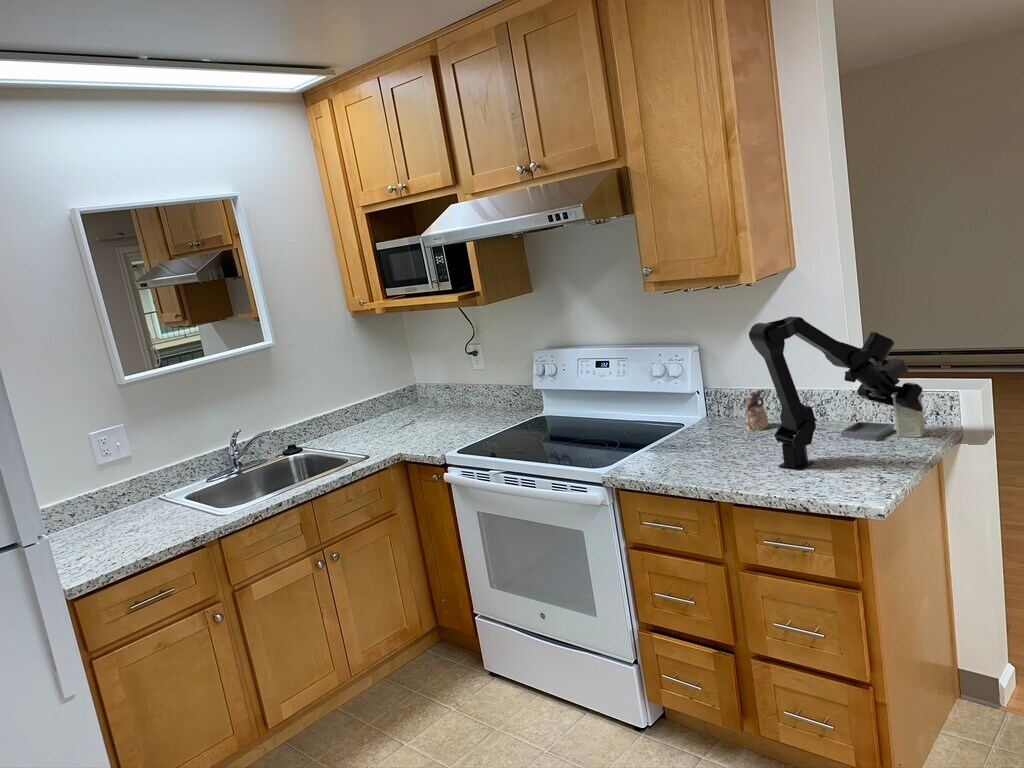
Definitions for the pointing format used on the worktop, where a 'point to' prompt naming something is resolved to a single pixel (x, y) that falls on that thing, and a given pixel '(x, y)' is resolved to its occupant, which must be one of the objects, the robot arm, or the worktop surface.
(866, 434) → the square gray open tray
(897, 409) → the skincare box
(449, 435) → the worktop surface
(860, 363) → the robot arm
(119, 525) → the worktop surface
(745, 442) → the worktop surface
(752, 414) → the figurine
